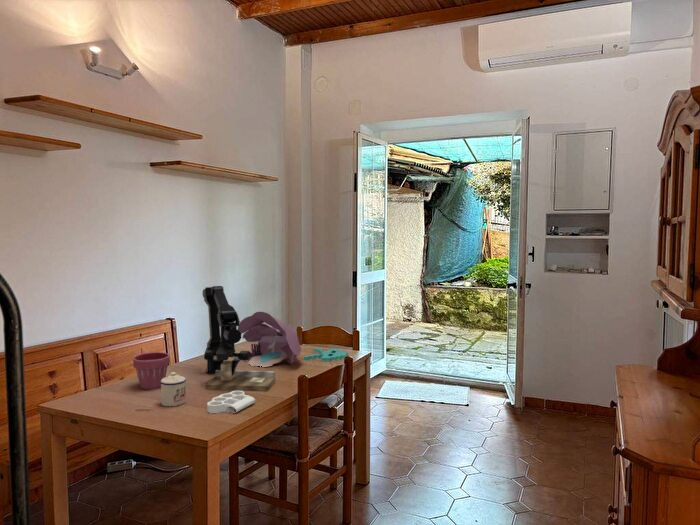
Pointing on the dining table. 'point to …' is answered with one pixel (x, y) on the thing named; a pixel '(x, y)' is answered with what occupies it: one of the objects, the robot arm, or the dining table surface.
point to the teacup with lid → (173, 390)
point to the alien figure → (327, 354)
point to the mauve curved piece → (269, 339)
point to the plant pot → (151, 368)
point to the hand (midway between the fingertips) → (227, 375)
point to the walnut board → (244, 381)
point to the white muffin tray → (229, 402)
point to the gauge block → (226, 371)
